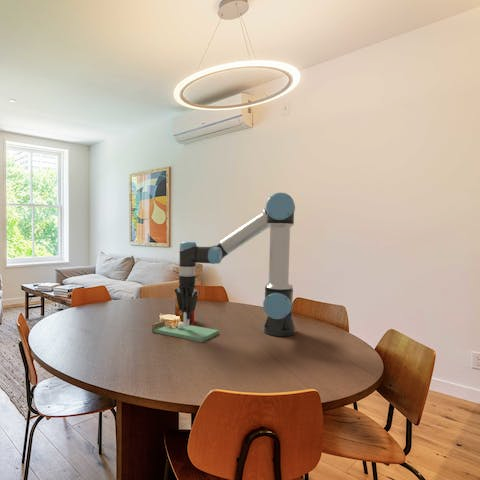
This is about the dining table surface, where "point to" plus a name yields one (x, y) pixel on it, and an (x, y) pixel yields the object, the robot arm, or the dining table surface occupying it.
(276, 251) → the robot arm
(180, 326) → the ball
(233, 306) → the dining table surface
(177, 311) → the mug
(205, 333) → the board with hole
